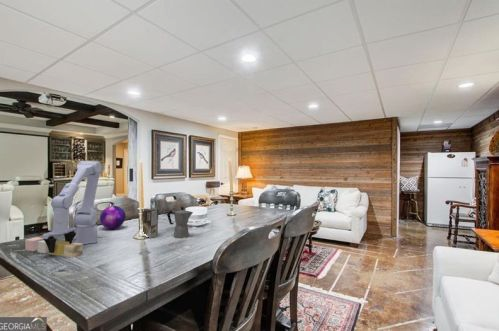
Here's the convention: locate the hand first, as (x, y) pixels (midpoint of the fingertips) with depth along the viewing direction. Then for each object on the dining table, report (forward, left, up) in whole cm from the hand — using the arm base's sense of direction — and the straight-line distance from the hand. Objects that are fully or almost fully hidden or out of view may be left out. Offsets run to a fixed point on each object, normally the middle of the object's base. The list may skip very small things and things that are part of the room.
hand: (59, 250), depth 118 cm
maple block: (-5, +6, -2) cm, 8 cm away
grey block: (+5, -6, -2) cm, 8 cm away
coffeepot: (-58, 0, -2) cm, 59 cm away
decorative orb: (-28, -40, -2) cm, 48 cm away
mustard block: (0, 0, -2) cm, 2 cm away
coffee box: (-42, -10, -2) cm, 44 cm away
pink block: (+10, -13, -2) cm, 16 cm away
